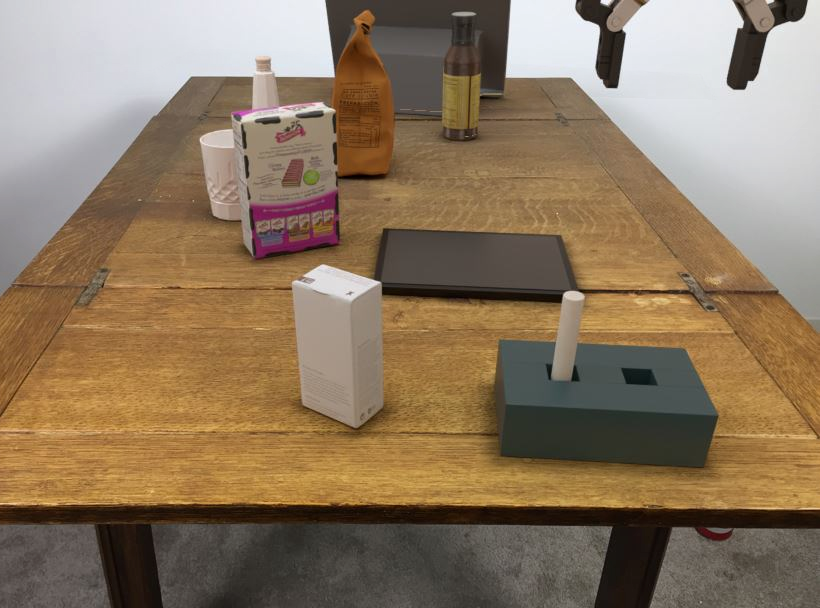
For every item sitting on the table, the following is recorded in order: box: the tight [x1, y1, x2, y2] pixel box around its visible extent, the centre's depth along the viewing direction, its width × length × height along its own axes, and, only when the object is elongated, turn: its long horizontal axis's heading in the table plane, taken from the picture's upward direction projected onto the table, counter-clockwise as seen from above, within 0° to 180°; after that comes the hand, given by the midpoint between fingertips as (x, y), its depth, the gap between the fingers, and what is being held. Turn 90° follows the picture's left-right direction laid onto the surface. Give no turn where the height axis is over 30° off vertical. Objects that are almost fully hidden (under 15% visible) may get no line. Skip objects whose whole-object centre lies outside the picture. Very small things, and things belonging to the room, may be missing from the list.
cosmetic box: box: [291, 263, 385, 429], centre depth 64 cm, size 6×4×12 cm
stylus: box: [551, 291, 586, 381], centre depth 62 cm, size 2×2×12 cm
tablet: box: [373, 227, 580, 303], centre depth 91 cm, size 16×22×1 cm
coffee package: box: [330, 10, 396, 178], centre depth 116 cm, size 10×12×22 cm
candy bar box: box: [230, 101, 341, 260], centre depth 92 cm, size 11×5×16 cm, turn 114°
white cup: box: [199, 128, 242, 221], centre depth 103 cm, size 8×8×10 cm
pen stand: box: [493, 338, 720, 468], centre depth 64 cm, size 10×16×5 cm, turn 85°
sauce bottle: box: [441, 12, 481, 142], centre depth 130 cm, size 6×6×20 cm
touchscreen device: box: [324, 0, 512, 117], centre depth 148 cm, size 35×20×30 cm, turn 77°
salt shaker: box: [251, 55, 281, 110], centre depth 141 cm, size 5×5×11 cm
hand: (672, 86), depth 55 cm, fingers open, 8 cm apart
